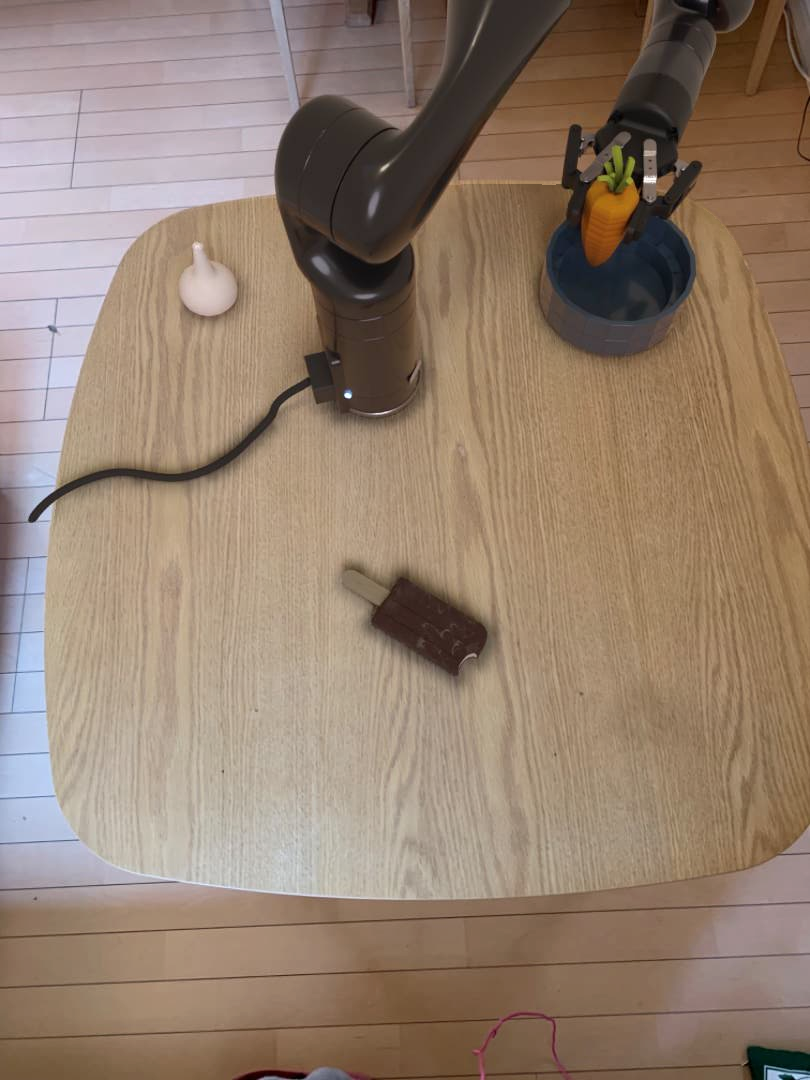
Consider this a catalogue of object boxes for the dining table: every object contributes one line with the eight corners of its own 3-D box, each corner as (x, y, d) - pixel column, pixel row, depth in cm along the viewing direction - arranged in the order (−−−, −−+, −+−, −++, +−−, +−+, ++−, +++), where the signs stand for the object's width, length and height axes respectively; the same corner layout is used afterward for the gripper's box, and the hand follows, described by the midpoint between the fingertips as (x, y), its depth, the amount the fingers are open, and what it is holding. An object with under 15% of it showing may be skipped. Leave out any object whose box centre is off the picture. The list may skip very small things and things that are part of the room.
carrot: (614, 287, 89) (648, 183, 75) (567, 280, 90) (592, 175, 75) (620, 249, 91) (654, 139, 77) (573, 242, 91) (599, 132, 77)
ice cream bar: (329, 599, 82) (463, 681, 79) (327, 594, 80) (464, 678, 77) (359, 555, 83) (492, 634, 80) (358, 549, 82) (493, 630, 78)
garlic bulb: (172, 305, 94) (149, 258, 86) (206, 265, 96) (186, 215, 88) (218, 330, 93) (199, 284, 85) (251, 289, 94) (235, 240, 87)
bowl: (564, 373, 89) (573, 340, 84) (521, 258, 95) (527, 221, 89) (701, 339, 90) (719, 305, 85) (651, 227, 95) (664, 188, 90)
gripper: (595, 51, 84) (534, 179, 79) (736, 92, 82) (683, 226, 77) (582, 113, 91) (526, 233, 86) (712, 151, 89) (662, 278, 84)
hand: (600, 229), depth 81 cm, fingers closed on carrot, 5 cm apart
